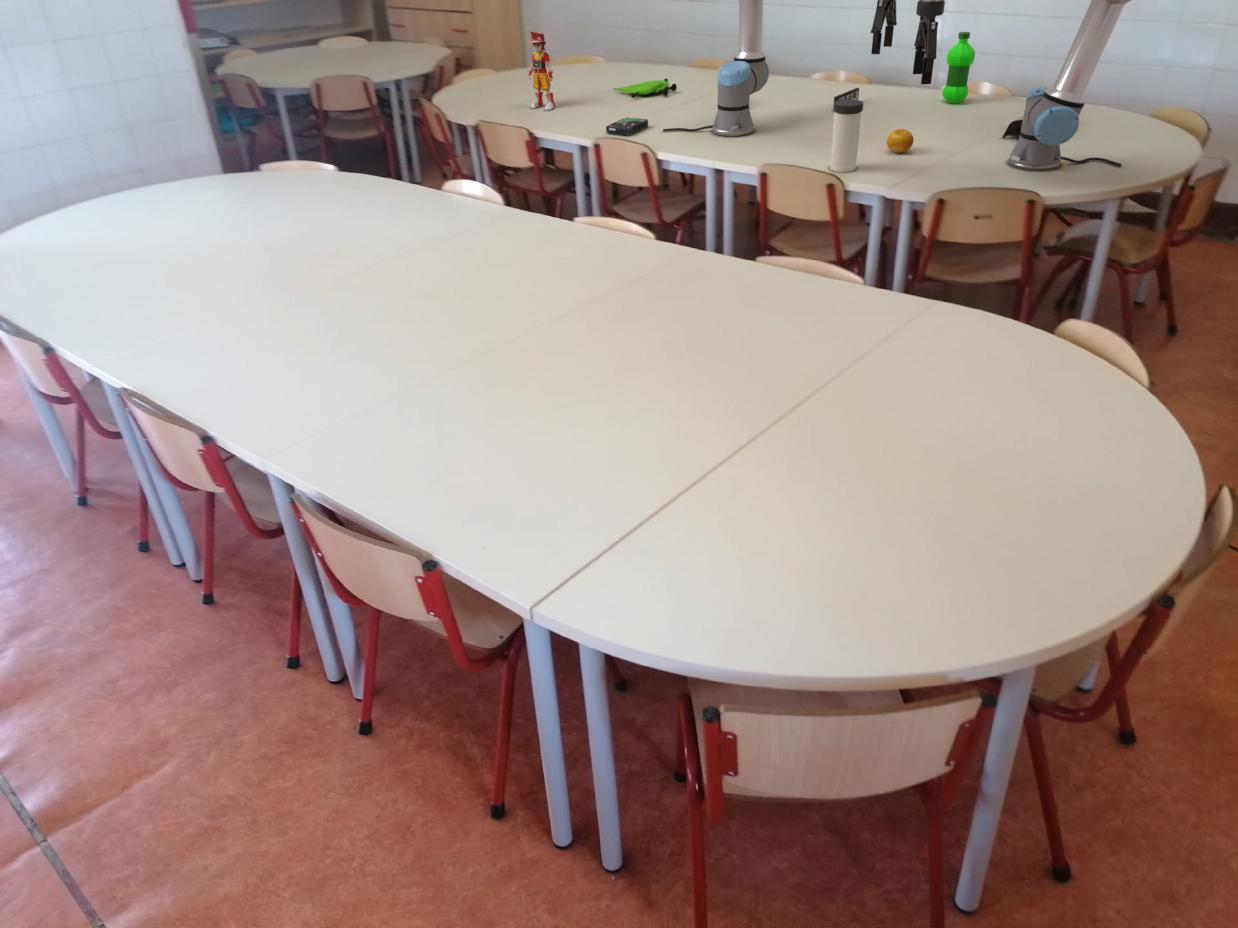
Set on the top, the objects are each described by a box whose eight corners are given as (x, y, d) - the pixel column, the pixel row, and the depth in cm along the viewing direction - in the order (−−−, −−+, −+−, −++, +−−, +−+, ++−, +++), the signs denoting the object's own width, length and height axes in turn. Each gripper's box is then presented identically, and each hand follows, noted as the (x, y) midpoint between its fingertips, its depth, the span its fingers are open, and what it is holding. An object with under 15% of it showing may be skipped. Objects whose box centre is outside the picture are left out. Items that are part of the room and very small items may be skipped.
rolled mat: (1032, 109, 328) (1056, 91, 320) (1046, 130, 329) (1070, 113, 320) (998, 131, 311) (1023, 113, 303) (1012, 153, 311) (1038, 136, 303)
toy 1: (525, 109, 381) (517, 32, 364) (534, 104, 388) (527, 28, 371) (550, 110, 377) (543, 32, 360) (559, 105, 384) (553, 28, 367)
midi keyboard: (835, 110, 353) (837, 97, 350) (833, 110, 354) (834, 97, 351) (858, 101, 363) (859, 88, 361) (855, 101, 364) (856, 88, 361)
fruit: (881, 143, 301) (896, 121, 298) (883, 146, 309) (897, 125, 306) (901, 157, 300) (917, 135, 297) (903, 159, 308) (918, 138, 305)
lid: (835, 106, 288) (836, 99, 287) (864, 107, 285) (865, 99, 284) (831, 113, 281) (831, 105, 280) (860, 114, 278) (861, 106, 277)
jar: (832, 163, 298) (837, 100, 286) (857, 165, 295) (863, 101, 284) (828, 171, 292) (833, 107, 280) (853, 172, 289) (859, 108, 278)
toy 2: (686, 85, 398) (631, 84, 414) (685, 72, 395) (629, 72, 411) (651, 104, 381) (596, 103, 397) (650, 92, 378) (594, 91, 394)
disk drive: (628, 136, 338) (648, 126, 348) (628, 129, 337) (648, 118, 347) (605, 134, 343) (625, 123, 353) (605, 126, 341) (625, 116, 351)
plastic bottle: (973, 101, 354) (984, 32, 339) (955, 106, 349) (966, 36, 335) (952, 97, 361) (962, 29, 346) (934, 102, 356) (944, 33, 342)
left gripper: (889, -14, 286) (881, 58, 298) (910, -24, 303) (902, 44, 315) (865, -14, 289) (859, 57, 301) (888, -25, 306) (881, 43, 318)
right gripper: (910, -6, 266) (901, 70, 278) (926, 7, 245) (916, 89, 257) (936, -7, 265) (926, 69, 277) (954, 5, 245) (942, 88, 257)
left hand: (881, 50), depth 308 cm, fingers open, 13 cm apart
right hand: (921, 79), depth 267 cm, fingers open, 13 cm apart
